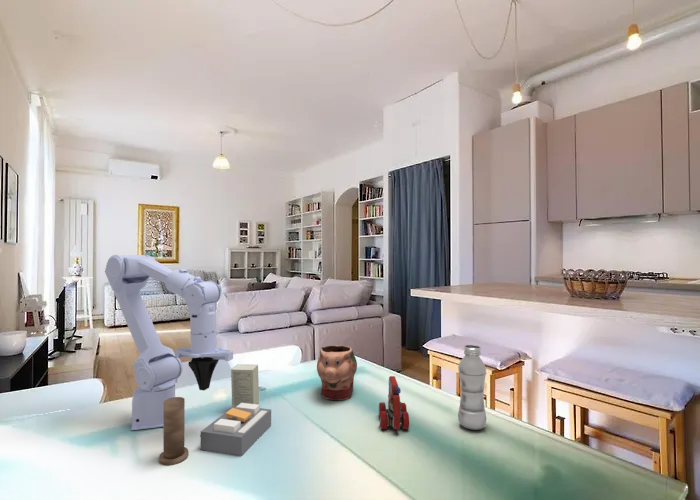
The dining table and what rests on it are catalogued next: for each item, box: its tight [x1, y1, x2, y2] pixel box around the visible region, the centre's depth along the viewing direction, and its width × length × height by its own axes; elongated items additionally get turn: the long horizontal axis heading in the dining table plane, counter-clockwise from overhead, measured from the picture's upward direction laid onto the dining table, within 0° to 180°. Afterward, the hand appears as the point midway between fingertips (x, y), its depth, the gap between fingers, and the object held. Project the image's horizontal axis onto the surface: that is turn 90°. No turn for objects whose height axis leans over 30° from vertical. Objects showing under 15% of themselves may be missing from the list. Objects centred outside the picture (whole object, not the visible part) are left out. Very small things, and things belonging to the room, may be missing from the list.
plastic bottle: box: [457, 344, 487, 431], centre depth 92 cm, size 6×7×20 cm
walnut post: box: [158, 396, 190, 466], centre depth 78 cm, size 6×6×12 cm
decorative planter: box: [316, 344, 358, 401], centre depth 113 cm, size 20×12×14 cm, turn 178°
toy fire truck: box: [378, 375, 410, 430], centre depth 94 cm, size 7×12×10 cm, turn 179°
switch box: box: [200, 403, 272, 457], centre depth 87 cm, size 10×14×5 cm
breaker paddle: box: [225, 407, 251, 422], centre depth 87 cm, size 5×3×2 cm, turn 76°
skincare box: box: [230, 363, 260, 408], centre depth 100 cm, size 6×4×12 cm
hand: (204, 388), depth 89 cm, fingers closed
